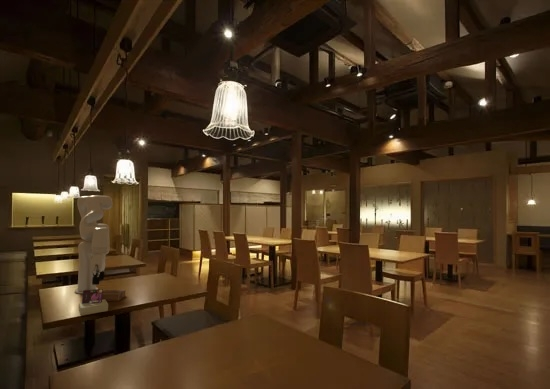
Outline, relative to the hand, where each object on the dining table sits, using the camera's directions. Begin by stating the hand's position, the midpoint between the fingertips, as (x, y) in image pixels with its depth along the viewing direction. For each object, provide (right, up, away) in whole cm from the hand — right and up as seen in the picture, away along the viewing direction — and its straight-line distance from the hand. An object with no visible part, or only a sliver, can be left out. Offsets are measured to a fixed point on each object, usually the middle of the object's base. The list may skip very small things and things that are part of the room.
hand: (98, 281), depth 167 cm
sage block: (+2, -13, -7) cm, 15 cm away
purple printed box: (0, -9, -5) cm, 11 cm away
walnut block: (0, -14, +13) cm, 19 cm away
